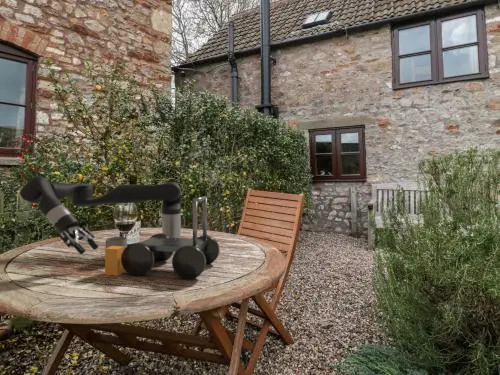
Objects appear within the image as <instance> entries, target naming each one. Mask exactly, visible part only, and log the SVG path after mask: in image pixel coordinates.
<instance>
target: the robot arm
mask: <svg viewBox="0 0 500 375" xmlns="http://www.w3.org/2000/svg"><path fill="white" fill-rule="evenodd" d="M181 189H182V188H181V186H180V185H179V184H178V183H176V182H174V181H171V182H170V181H169V182H166V183H162V184H154V185H151V184H150V185H148V184H130V183H129V184H120V185H117V186H116V187H114V188H112V189H110V190H109V191H108V192H107V193H105V194H103V195H101V196H99V197H95V198H94V188H93V185H92V184H90V183H85V182H82V183H79V182H70V183H69V182H68V183H59V182H53V181H50V182H49V180H48V179H47V178H45V177H44V176H41V175H35V176H33V177H32V178H30V180H28V182H27V183H25V185H23V187H22V188H21V189H20V191H19V195H20V197H21V199H22V200H24V201H26V202H29V203H38V202H39V203H38V209H39V210H40V211H41V213H42V214H44V216H45V217H46V218H47V220H48V221H49V222H50V224H51V225H52V226H53V227H54V228H55V229H56V231H58V233H59V235H58V237H59V239H61V240H62V242H63V243H64V244H65V245H66V246H67V247H68V248H70V247H72V248H74V249H75V250H76V251H77V252H78V253H79V254H80V255H83V254H84V253H85V252H86V251H87V250H86V249H85V247H84V246H83V245H82V244H81V243H79V241H81V242H85V243H87V244H88V245H89V246H90V247H91V248H92V250H95V251H96V250H97V249H98V248H99V244H98V243H97V242H96V241H95V240H94V238H96V237H95V235H94V233H93V232H92V231H91V230H90V229H89V228H88V227H87V226H84V227H80V225H79V224H80V221H79V220H78V219H77V218H76V217H75V215H74V214H73V213H72V212H71V211H70V209H68V207H65V205H64V204H63V203H62V202H61V201H60V200H62V199H65V198H67V197H68V196H69V195H70V194H71V204H72V205H73V206H74V207H78V208H79V207H89V206H91V207H92V206H99V205H110V204H111V205H112V204H113V205H114V204H116V205H117V204H133V203H141V202H147V201H162V208H161V233H163V234H166V235H168V236H169V237H170V238H182V237H181V230H182V229H181V228H182V226H181V223H182V221H181V220H182V219H181V213H182V212H181V209H182V208H181V207H182V190H181Z"/></svg>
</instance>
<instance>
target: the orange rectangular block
mask: <svg viewBox="0 0 500 375" xmlns="http://www.w3.org/2000/svg"><path fill="white" fill-rule="evenodd" d="M123 251H124V246H111V247H108V248H106V247H104V259H105V260H104V262H105V263H104V266H105V268H104V270H105V272H104V274H105V276H110V275H115V276H114V277H119V276H120V275H122V274H124V273H125V270H124V268H123V266H122V263H121V255H122V252H123ZM118 275H119V276H118Z"/></svg>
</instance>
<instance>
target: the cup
mask: <svg viewBox="0 0 500 375" xmlns="http://www.w3.org/2000/svg"><path fill="white" fill-rule="evenodd" d="M111 246H124V249H125V248H126V247H127V246H128V238H127V237H126V236H125V237H124V236H114V237H113V236H112V237H108V238H106V239H105V248H108V247H111Z"/></svg>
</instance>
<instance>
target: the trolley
mask: <svg viewBox="0 0 500 375" xmlns="http://www.w3.org/2000/svg"><path fill="white" fill-rule="evenodd" d="M200 202H202V235H200V236H198V203H200ZM191 203H192V238H190V237H189V238H188V237H187V238H186V237H181V238H170V237H169V236H168V235H166V234H163V233H162V232H161V233H160V232H159V233H155V234H153V235H152V236H150V237H149V238H148V239H145V240H142V241H141V242H134V243H132V244H129V245H127V247H126V248H125V249H124V251H123V252H122V255H121V263H122V266H123V268H124V272H126V273H127V274H128V275H130V276H134V277H141V276H144V275H145V274H147V273H149V272H150V271H151V270H152V268H153V267H154V264H155V262H157V263H164V262H166V261H168V260H169V259H171V257H172V259H171V266H172V269H173V271H174V272H175V274H176V275H177V277H179V278H181V279H184V280H187V281H191V280H195V279H198V277H200V276H201V275H202V273H203V272H204V271H205V270H206V267H207V265H210V264H212V263H214V262H215V261H216V260H217V259H218V257H219V256H220V250H221V248H220V245H219V243H218V241H217V240H216V238H214V237H213V236H211V235H208V227H207V226H208V217H207V216H208V197H207V196H206V195H205V196H200V197H196V198H195V197H194V198H193V199H191Z"/></svg>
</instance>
